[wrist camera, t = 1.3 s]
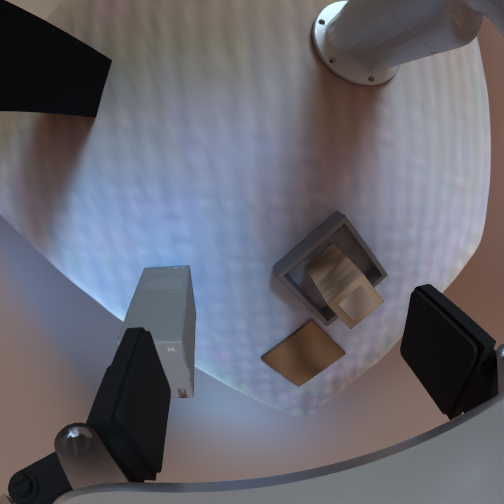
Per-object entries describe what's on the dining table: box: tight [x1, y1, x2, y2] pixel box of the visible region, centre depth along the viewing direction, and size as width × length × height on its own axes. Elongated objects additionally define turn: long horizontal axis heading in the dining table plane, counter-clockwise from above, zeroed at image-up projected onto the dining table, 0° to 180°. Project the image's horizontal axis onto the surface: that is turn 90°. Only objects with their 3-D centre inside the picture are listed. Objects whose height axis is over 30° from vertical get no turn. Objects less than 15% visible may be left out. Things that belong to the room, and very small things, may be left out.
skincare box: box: [116, 266, 196, 398], centre depth 33 cm, size 8×7×16 cm
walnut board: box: [261, 319, 346, 386], centre depth 46 cm, size 10×10×1 cm
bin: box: [273, 211, 388, 326], centre depth 39 cm, size 11×11×3 cm
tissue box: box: [0, 0, 112, 117], centre depth 15 cm, size 8×8×28 cm
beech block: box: [305, 243, 384, 329], centre depth 36 cm, size 5×5×10 cm
